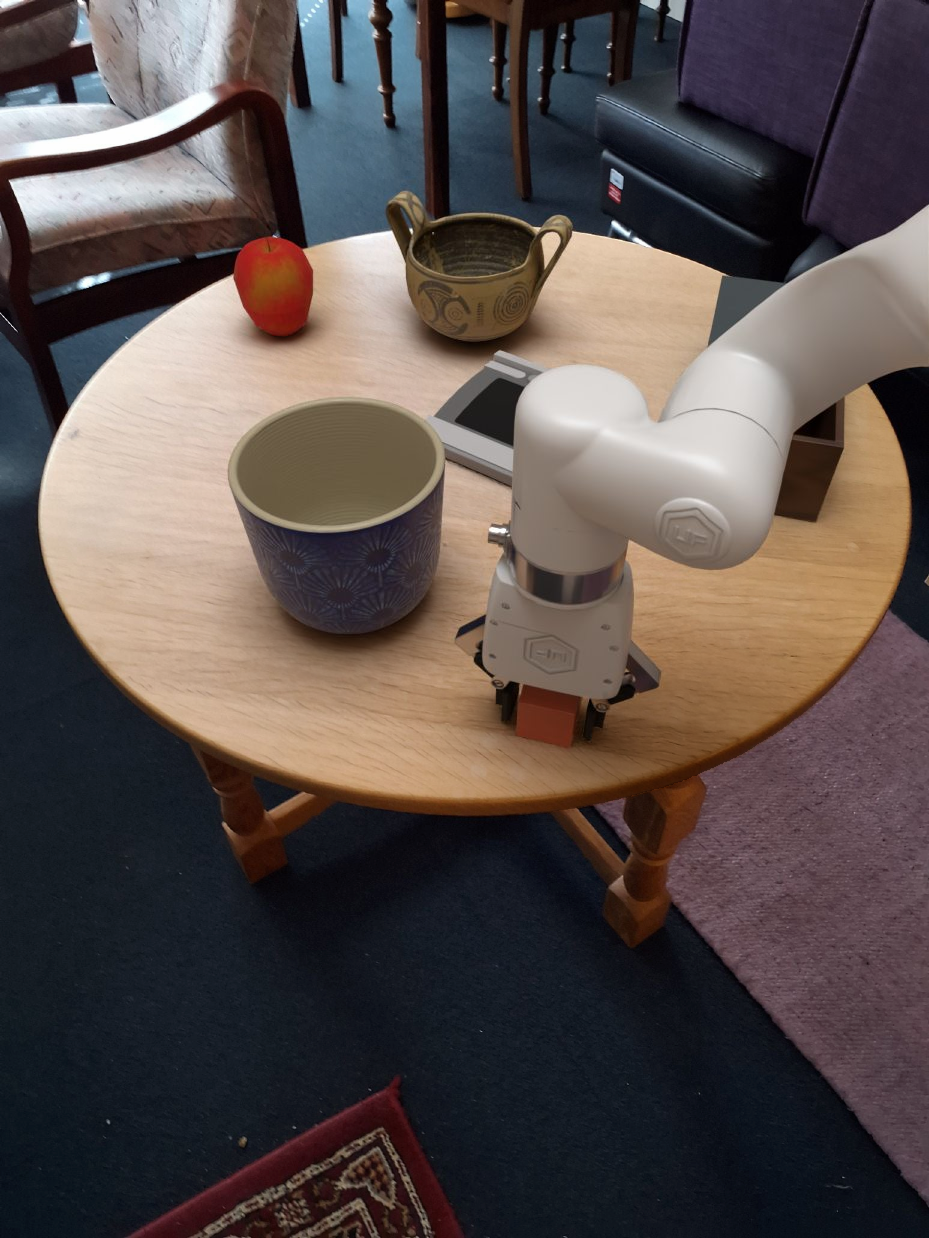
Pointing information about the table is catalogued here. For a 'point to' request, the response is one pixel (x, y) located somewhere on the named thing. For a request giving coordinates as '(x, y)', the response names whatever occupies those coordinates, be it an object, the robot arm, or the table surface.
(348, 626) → the planter
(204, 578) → the table surface
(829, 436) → the box
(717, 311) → the lid
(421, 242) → the ceramic bowl
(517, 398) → the alarm clock
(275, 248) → the apple
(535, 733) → the block
